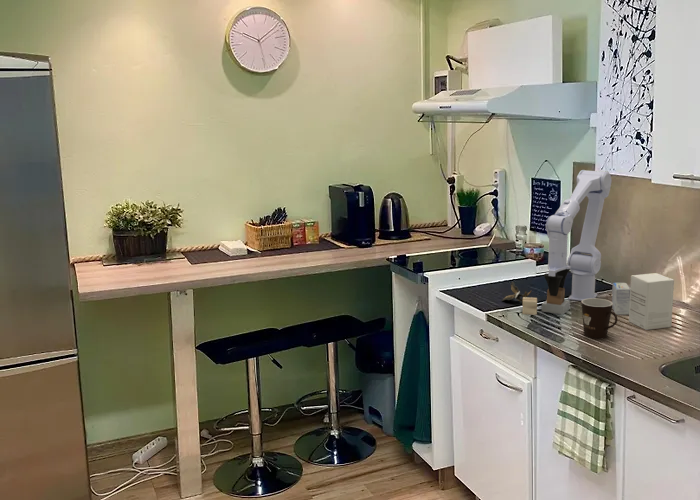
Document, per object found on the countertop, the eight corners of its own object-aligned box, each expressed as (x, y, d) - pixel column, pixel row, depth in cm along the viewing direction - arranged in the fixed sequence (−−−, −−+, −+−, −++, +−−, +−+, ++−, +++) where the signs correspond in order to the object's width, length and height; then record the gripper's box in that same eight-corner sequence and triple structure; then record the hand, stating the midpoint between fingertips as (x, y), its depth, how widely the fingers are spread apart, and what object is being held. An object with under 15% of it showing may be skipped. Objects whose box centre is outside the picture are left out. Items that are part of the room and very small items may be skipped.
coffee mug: (576, 330, 211) (577, 298, 209) (605, 330, 210) (607, 298, 208) (588, 343, 199) (589, 310, 197) (618, 343, 199) (620, 309, 197)
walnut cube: (550, 299, 234) (551, 286, 233) (564, 301, 231) (564, 288, 230) (546, 303, 230) (547, 289, 229) (560, 304, 228) (561, 291, 227)
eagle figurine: (533, 298, 241) (512, 288, 247) (530, 284, 236) (508, 275, 242) (520, 313, 238) (499, 303, 244) (516, 299, 234) (495, 290, 240)
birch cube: (522, 310, 232) (522, 297, 231) (536, 310, 231) (537, 297, 230) (522, 314, 228) (522, 301, 227) (536, 315, 227) (537, 301, 226)
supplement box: (653, 318, 219) (656, 272, 216) (672, 327, 211) (675, 279, 208) (627, 321, 218) (630, 274, 214) (645, 330, 209) (648, 281, 206)
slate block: (548, 306, 236) (549, 298, 235) (569, 309, 232) (570, 301, 231) (541, 312, 230) (542, 303, 230) (563, 315, 226) (563, 306, 226)
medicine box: (629, 315, 223) (631, 289, 222) (615, 314, 224) (616, 288, 222) (625, 307, 231) (626, 282, 229) (611, 307, 232) (612, 282, 230)
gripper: (565, 258, 219) (563, 299, 222) (575, 248, 231) (573, 288, 234) (542, 256, 222) (541, 297, 225) (553, 247, 234) (552, 286, 237)
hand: (556, 292), depth 230 cm, fingers open, 7 cm apart
